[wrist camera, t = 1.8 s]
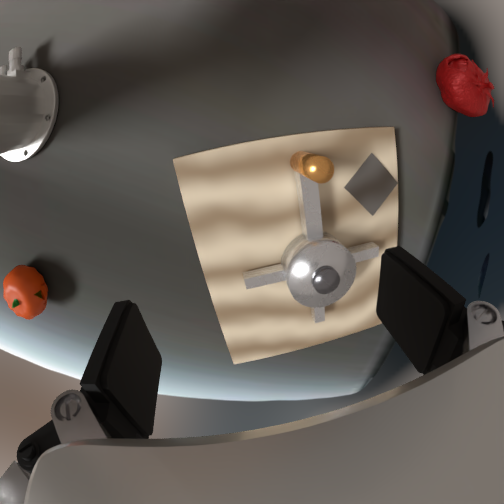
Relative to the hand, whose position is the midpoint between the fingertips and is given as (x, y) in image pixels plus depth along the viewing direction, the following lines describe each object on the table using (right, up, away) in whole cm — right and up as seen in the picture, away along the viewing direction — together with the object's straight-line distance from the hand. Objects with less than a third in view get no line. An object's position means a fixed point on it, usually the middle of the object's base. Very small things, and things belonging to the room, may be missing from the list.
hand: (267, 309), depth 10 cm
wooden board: (+6, +2, +25) cm, 26 cm away
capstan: (+6, +3, +22) cm, 23 cm away
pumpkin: (-33, -2, +22) cm, 40 cm away
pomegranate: (+30, +28, +17) cm, 44 cm away
